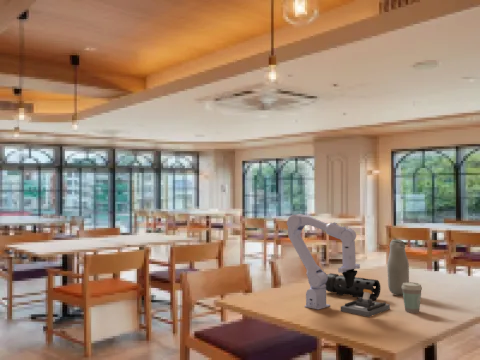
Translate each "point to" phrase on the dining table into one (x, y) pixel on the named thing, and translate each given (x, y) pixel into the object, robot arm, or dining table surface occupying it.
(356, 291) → the muzzle brake
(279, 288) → the dining table surface
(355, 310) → the breaker panel
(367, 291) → the breaker lever
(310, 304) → the robot arm
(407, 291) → the coffee cup
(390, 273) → the grey bottle
